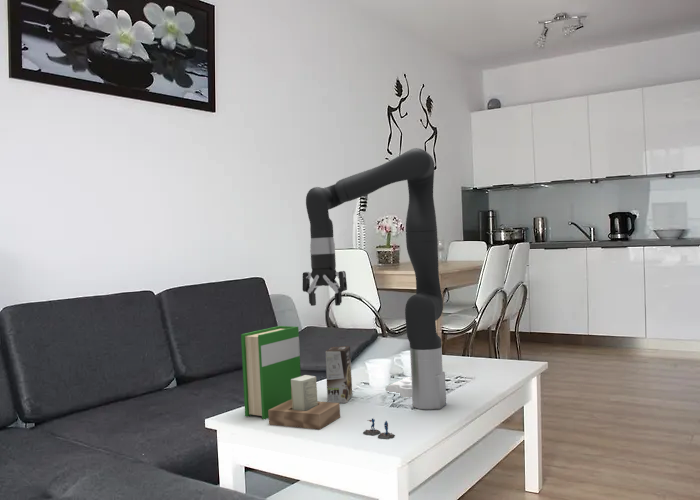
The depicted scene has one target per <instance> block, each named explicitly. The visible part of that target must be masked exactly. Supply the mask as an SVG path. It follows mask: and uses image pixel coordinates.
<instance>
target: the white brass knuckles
mask: <svg viewBox="0 0 700 500" xmlns="http://www.w3.org/2000/svg"><path fill="white" fill-rule="evenodd" d="M387 391H389V392H396V393H400V395H399V397H400V396H403V397H412V379H411V376H410V377H409V376H408V377H403V378H402V379H401V380H397V381H395V382H393V383H390V384H388V385H386V386H385V392H387Z"/></svg>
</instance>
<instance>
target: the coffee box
mask: <svg viewBox="0 0 700 500" xmlns="http://www.w3.org/2000/svg"><path fill="white" fill-rule="evenodd" d="M325 372H326V373H325V374H326V375H325V376H326V392H327V393H326V395H327V401H326V402H332V403H340V404H346V403H348V402H349V400H350V399H352V397H353V379H352V378H353V377H352V362H351V346H350V345H349V346H348V345H345V346H344V345H343V346H342V345H341V346H331V347H329V348H328V349H327V350H325Z"/></svg>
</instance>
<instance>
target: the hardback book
mask: <svg viewBox="0 0 700 500" xmlns="http://www.w3.org/2000/svg"><path fill="white" fill-rule="evenodd" d="M240 343H241V360H242V361H241V362H242V381H243V398H244V399H243V400H244V417H245V416H249V417H251V416H260V417H261V420H264V419H265V420H267V419H269V415H268V410H269V409H272V408H274V407H276V406H278V405H280V404H282V403H284V402H286V401H288V400H291V399H292V394H291V379H294V378H297V377H300V376H302V374H301V373H302V372H301V355H300V352H301V351H300V332H299V326H288V325H278V326H274V327H272V326H271V327H269V328H264V329H259V330H255V331H251V332H250V331H249V332H245V333H242V334H240ZM250 415H251V416H250Z"/></svg>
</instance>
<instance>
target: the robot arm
mask: <svg viewBox="0 0 700 500" xmlns="http://www.w3.org/2000/svg"><path fill="white" fill-rule="evenodd" d="M434 161H435V160H434V157H432V155H431V154H430V153H428V151H426V150H424V149H423V148H418V147H415V148H411V149H409V150H407V151H405V152H403V153H402V154H400V155H398V156H396V157H394V158H393V159H390V160H389V161H387V162H384V163H383V164H380V165H378V166H375V167H373V168H370V169H367V170H364V171H360V172H358V173H356V174H352V175H350V176H347V177H343V178H342V179H340V180H338V181H336V183H334V184H331V185H329V186H327V187H321V186H314V187H312V188H310V189H309V191H307V193H306V196H305V206H306V207H305V208H306V211H307V215H308V221H309V224H310V225H309V226H310V227H309V229H310V230H309V231H310V247H309V248H310V250H309V253H310V266H311V272H310V271H305V272H302V291H303V292H306V293H307V294H308V303H309V304H310V306H317V299H316V298H317V297H316V293H315V292H316V291H317V289H318V288H319V287H323V286H325V287H326V286H327V287H329V288H331V289H332V290H333V291H334V305H335V306H336V307H337V306H340V305H341V304H342V302H343V300H342V293H343V292H344V291H345V292H346V291H347V290H348V285H347V283H348V282H347V274H346V271H345V270H340V271H337V270H336V268H337V265H336V262H337V261H336V250H335V249H336V246H335V245H336V244H335V239H334V224H333V221H332V219H331V218H330V213H329V210H331V209H334V208H336V207H338V206H341V205H342V204H345V203H346V202H347V203H348V202H350V201H354V200H357V199H359V198H362V197H365V196H367V195H370V194H372V193H374V192H376V191H377V190H380V189H381V188H384V187H386V186H389V185H392V184H394V183H398V182H399V183H400V182H403V181H406V182H407V188H408V189H407V191H408V206H407V213H406V218H405V219H406V220H405V243H406V244H405V245H406V250H407V254H408V257H409V260H410V263H411V266H412V269H413V271H414V275H415V285H416V287H415V288H416V289H415V291H416V292H415V294H413V295H411V296H410V297H409V298H408V300H407V301H406V303H405V308H404V311H405V312H404V313H405V315H404V316H405V317H404V318H405V327H406V329H405V330H406V337H407V339H408V342H409V353H410V355H409V356H410V377H411V379H412V398H411V400H412V406H413V408H416V409H419V410H437V409H438V410H441V409H442V408H444V407H445V406H446V405H447V389H446V388H447V387H446V386H447V385H446V372H445V371H443V352H442V350H443V349H442V347H443V346H442V338H441V336H439V335H438V333H437V325H436V323H437V322H436V321H437V320H439V319H440V317H441V316H442V314H443V311H444V301H443V296H442V290H441V283H440V282H441V281H440V272H439V270H440V269H439V243H438V241H439V237H438V226H437V216H436V208H435V201H434V181H435V180H434V178H435V162H434ZM311 278H312V282H311ZM336 278H337V279H338V281H339V282H338V281H337V280H336ZM310 282H311V283H310Z"/></svg>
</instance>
